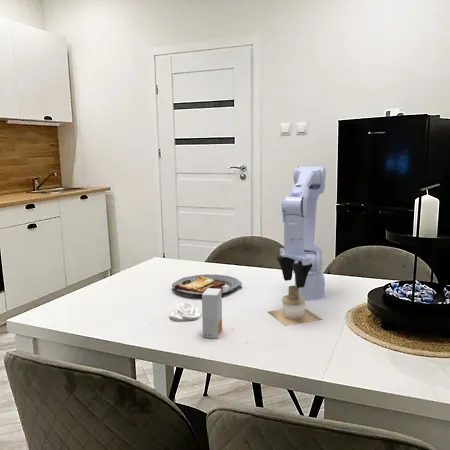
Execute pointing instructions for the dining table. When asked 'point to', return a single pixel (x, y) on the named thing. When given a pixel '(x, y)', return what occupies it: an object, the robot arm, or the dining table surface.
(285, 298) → the lid
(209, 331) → the skincare box
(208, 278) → the food plate
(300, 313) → the jar
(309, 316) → the square wooden coaster
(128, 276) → the dining table surface
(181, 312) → the rose
